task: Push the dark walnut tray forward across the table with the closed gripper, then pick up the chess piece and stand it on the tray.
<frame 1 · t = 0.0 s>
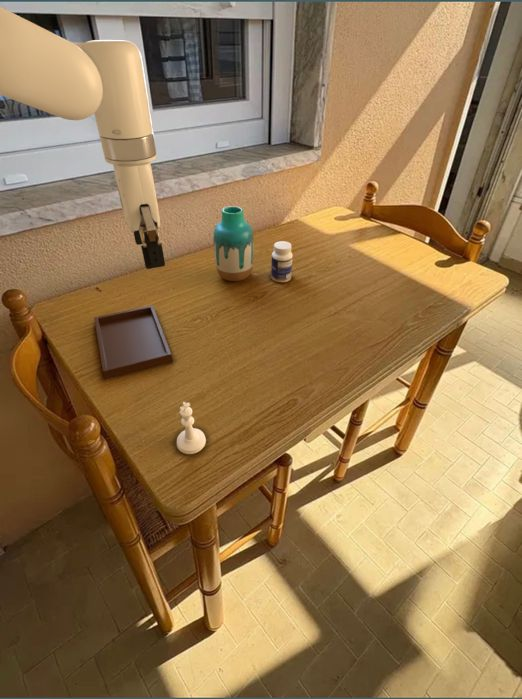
hand: (150, 254, 67), 23 cm above the table, tool pointing down, fingers open, 9 cm apart
tray: (132, 342, 85), on the table
pill bottle: (281, 278, 107), on the table
vase: (234, 278, 107), on the table
chess piece: (191, 442, 65), on the table
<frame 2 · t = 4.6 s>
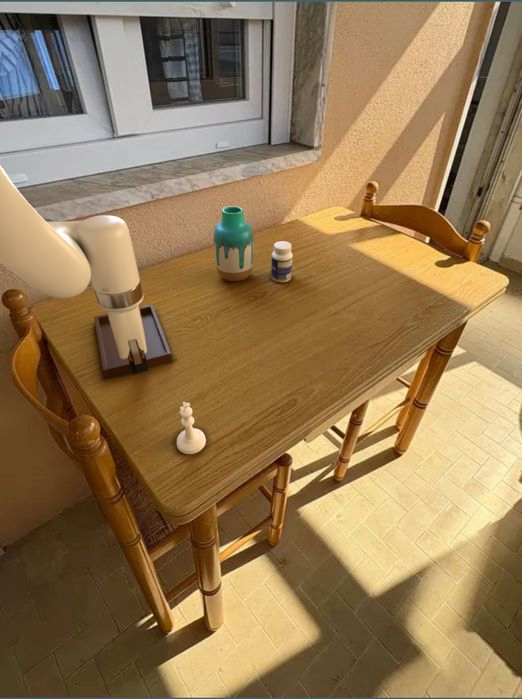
hand: (140, 369, 76), 1 cm above the table, tool pointing down, fingers closed
tray: (132, 341, 85), on the table, touching gripper
everything else where it was.
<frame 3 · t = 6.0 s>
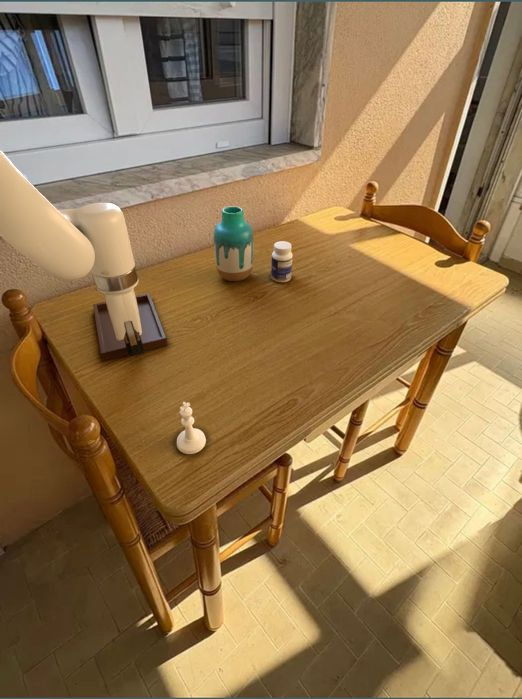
hand: (136, 352, 80), 1 cm above the table, tool pointing down, fingers closed
tray: (129, 327, 89), on the table, touching gripper
everything else where it was.
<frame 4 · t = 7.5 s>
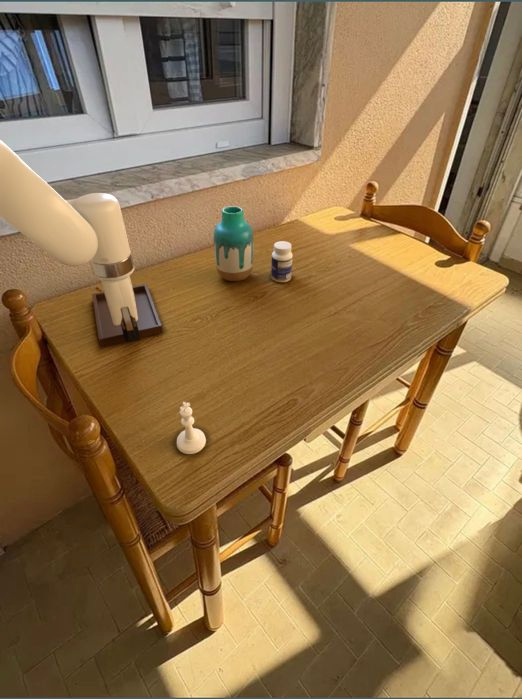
hand: (132, 338, 84), 1 cm above the table, tool pointing down, fingers closed
tray: (126, 315, 92), on the table, touching gripper
everything else where it was.
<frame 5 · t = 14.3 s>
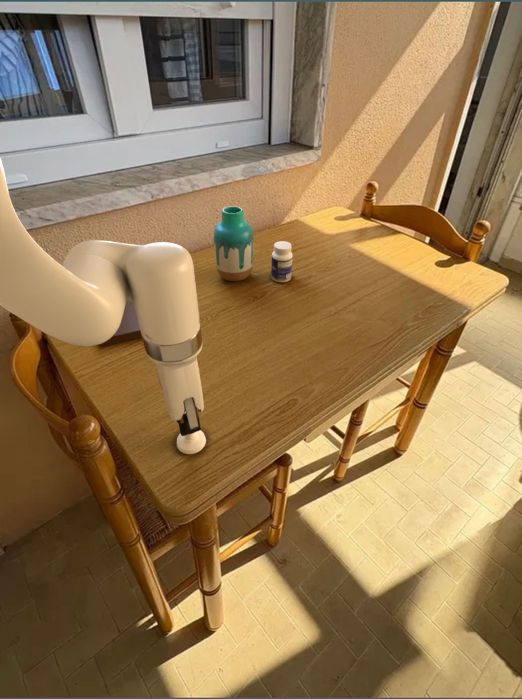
hand: (188, 425, 62), 5 cm above the table, tool pointing down, fingers closed on chess piece
tray: (126, 315, 92), on the table
chess piece: (191, 442, 65), on the table, touching gripper
everything else where it was.
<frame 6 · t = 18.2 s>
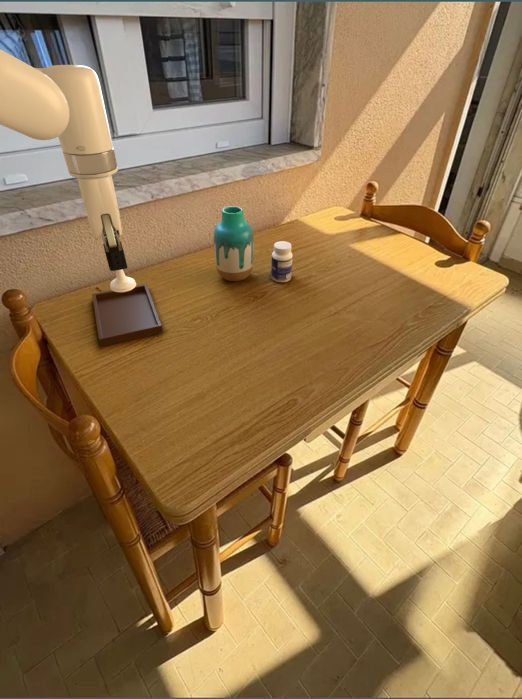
hand: (117, 265, 73), 19 cm above the table, tool pointing down, fingers closed on chess piece
chess piece: (123, 286, 76), point 14 cm above the table, touching gripper
everything else where it was.
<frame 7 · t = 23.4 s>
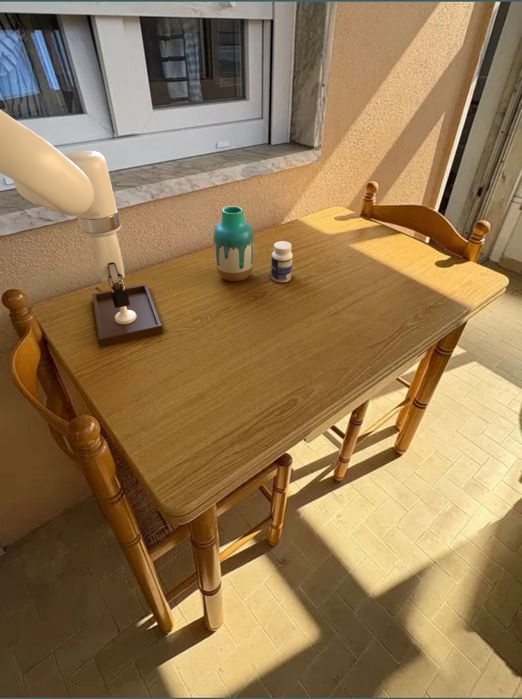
hand: (119, 294, 86), 7 cm above the table, tool pointing down, fingers open, 9 cm apart
tray: (126, 315, 92), on the table, touching chess piece
chess piece: (126, 318, 91), resting on tray
everything else where it was.
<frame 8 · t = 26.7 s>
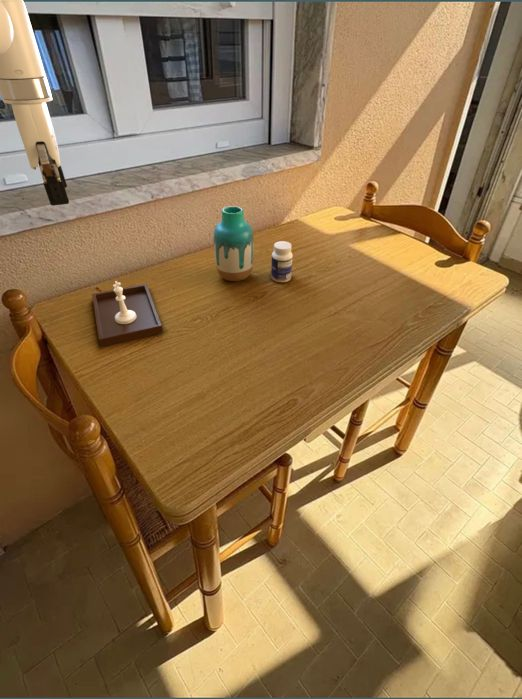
hand: (59, 195, 74), 28 cm above the table, tool pointing down, fingers open, 9 cm apart
nothing on the table moved.
at the end: tray inside the target area (0.7 cm from its centre), on the table; chess piece inside the target area in the tray (1.7 cm from its centre), point 0.4 cm above the tray's base; chess piece tilted 0° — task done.
